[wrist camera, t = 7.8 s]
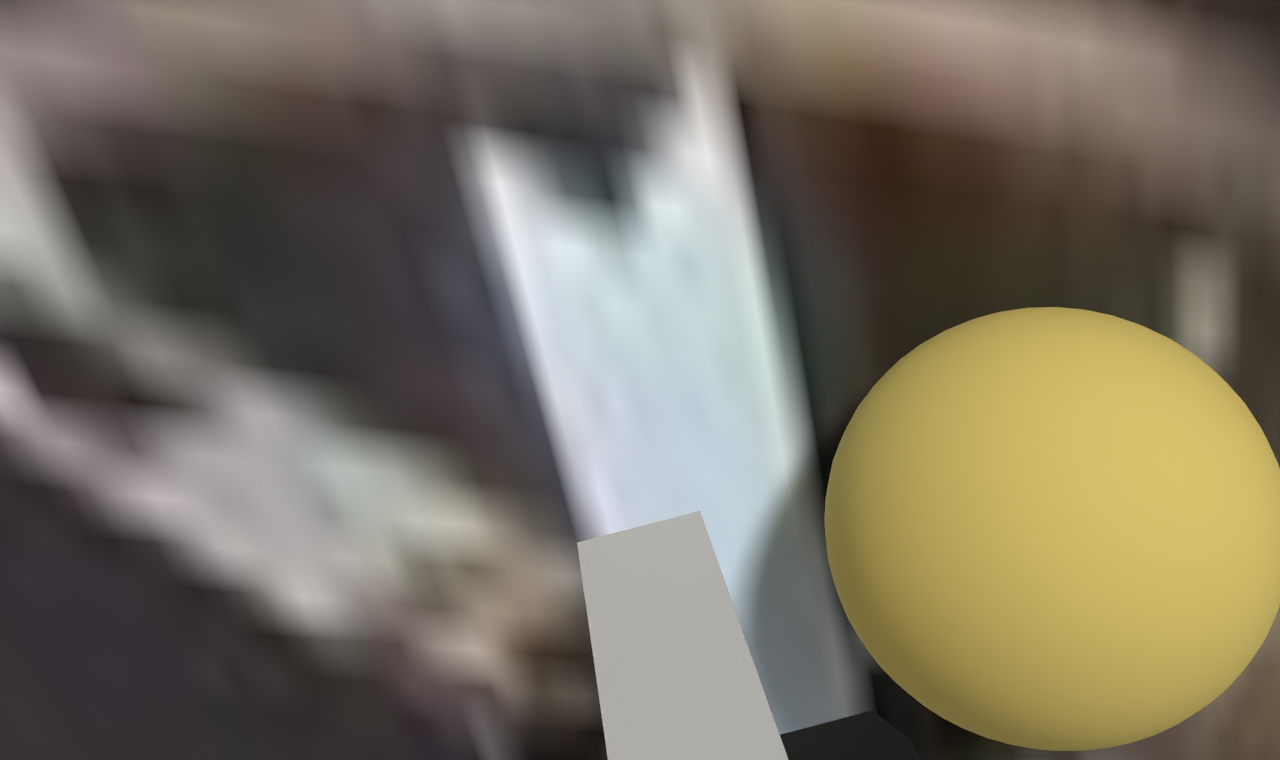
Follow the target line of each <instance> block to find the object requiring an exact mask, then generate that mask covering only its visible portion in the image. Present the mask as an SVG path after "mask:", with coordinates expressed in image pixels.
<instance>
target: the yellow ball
mask: <svg viewBox="0 0 1280 760" xmlns="http://www.w3.org/2000/svg"><path fill="white" fill-rule="evenodd" d="M824 522H825V535H826V545H827V555H828V561H829V565H830V569H831V573H832V577H833V581H834V584H835V587H836V590H837V593H838V596H839V598H840V601H841V603H842V606H843V608H844V610H845V613H846V615H847V617H848V619H849V621H850V623H851V624H852V626H853V628H854V630H855V631H856V633H857V635H858V636H859V638H860V640H861V641H862V643H863V644H864V646H865V647H866V649H867V650H868V651H869V653H870V654H871V655H872V656H873V658H874V659H875V660H876V662H877V663H878V664H879V666H880V667H881V668H882V669H883V670H884V671H885V672H886V673H887V674H888V675H889V676H890V677H891V678H892V679H893V680H894V681H895V682H896V683H897V684H898V685H899V686H900V687H901V688H903V689H904V690H905V691H906V692H907V693H909V694H910V695H911V696H912V697H914V698H915V699H916V700H917V701H918V702H920V703H921V704H922V705H923V706H925V707H926V708H928V709H930V710H931V711H933V712H934V713H936V714H937V715H939V716H940V717H942V718H944V719H945V720H947V721H949V722H951V723H953V724H955V725H957V726H959V727H961V728H963V729H965V730H968V731H970V732H973V733H976V734H978V735H981V736H983V737H986V738H989V739H993V740H996V741H1000V742H1003V743H1007V744H1011V745H1016V746H1022V747H1027V748H1033V749H1041V750H1053V751H1085V750H1094V749H1102V748H1110V747H1115V746H1119V745H1124V744H1128V743H1133V742H1136V741H1139V740H1142V739H1145V738H1148V737H1151V736H1154V735H1156V734H1158V733H1160V732H1163V731H1165V730H1167V729H1169V728H1171V727H1173V726H1175V725H1177V724H1179V723H1181V722H1182V721H1184V720H1185V719H1187V718H1188V717H1190V716H1192V715H1193V714H1195V713H1196V712H1198V711H1200V710H1201V709H1203V708H1204V707H1206V706H1207V705H1209V704H1210V703H1211V702H1212V701H1213V700H1215V699H1216V698H1217V697H1218V696H1219V695H1221V694H1222V693H1223V692H1224V691H1225V690H1227V688H1228V687H1229V686H1230V685H1231V684H1232V683H1233V682H1234V681H1235V680H1236V678H1237V677H1238V676H1239V675H1240V674H1241V673H1242V672H1243V671H1244V669H1245V668H1246V667H1247V665H1248V664H1249V663H1250V662H1251V660H1252V659H1253V657H1254V656H1255V654H1256V653H1257V651H1258V650H1259V648H1260V647H1261V645H1262V644H1263V642H1264V641H1265V639H1266V637H1267V635H1268V633H1269V630H1270V628H1271V626H1272V624H1273V621H1274V619H1275V617H1276V614H1277V612H1278V609H1279V606H1280V468H1279V465H1278V462H1277V460H1276V458H1275V456H1274V454H1273V451H1272V449H1271V447H1270V445H1269V442H1268V440H1267V438H1266V436H1265V435H1264V433H1263V431H1262V429H1261V427H1260V425H1259V424H1258V422H1257V421H1256V419H1255V418H1254V416H1253V415H1252V413H1251V412H1250V410H1249V409H1248V407H1247V406H1246V404H1245V403H1244V402H1243V401H1242V399H1241V398H1240V397H1239V396H1238V395H1237V394H1236V393H1235V392H1234V390H1233V389H1232V388H1231V387H1230V386H1229V385H1228V384H1227V383H1226V382H1225V381H1224V380H1223V379H1222V378H1221V377H1220V376H1219V375H1218V374H1217V373H1216V372H1215V371H1214V370H1213V369H1211V368H1210V367H1209V366H1208V365H1207V364H1206V363H1204V362H1203V361H1202V360H1201V359H1200V358H1198V357H1197V356H1196V355H1195V354H1193V353H1192V352H1190V351H1189V350H1187V349H1185V348H1184V347H1182V346H1181V345H1179V344H1178V343H1176V342H1174V341H1173V340H1171V339H1169V338H1167V337H1165V336H1163V335H1161V334H1159V333H1157V332H1155V331H1153V330H1150V329H1148V328H1146V327H1144V326H1142V325H1139V324H1136V323H1133V322H1130V321H1127V320H1124V319H1121V318H1118V317H1115V316H1112V315H1108V314H1103V313H1098V312H1093V311H1089V310H1084V309H1073V308H1061V307H1038V308H1023V309H1016V310H1009V311H1002V312H998V313H994V314H990V315H986V316H983V317H979V318H975V319H972V320H970V321H967V322H965V323H963V324H960V325H958V326H955V327H953V328H950V329H948V330H946V331H944V332H942V333H940V334H938V335H936V336H935V337H933V338H931V339H929V340H927V341H926V342H924V343H922V344H920V345H919V346H918V347H916V348H915V349H914V350H912V351H911V352H909V353H908V354H907V355H905V356H904V357H903V358H901V359H900V360H899V361H898V362H897V363H896V364H895V365H894V366H893V367H892V368H891V369H890V370H889V371H888V372H887V373H886V374H884V375H883V376H882V377H881V379H880V380H879V381H878V382H877V383H876V384H875V385H874V386H873V388H872V389H871V390H870V392H869V393H868V394H867V395H866V397H865V398H864V399H863V401H862V402H861V403H860V404H859V406H858V408H857V409H856V411H855V413H854V415H853V417H852V418H851V420H850V422H849V424H848V426H847V427H846V430H845V432H844V434H843V436H842V438H841V441H840V443H839V446H838V449H837V451H836V454H835V457H834V459H833V463H832V468H831V472H830V477H829V482H828V487H827V493H826V501H825V520H824Z"/></svg>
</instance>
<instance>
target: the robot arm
mask: <svg viewBox="0 0 1280 760" xmlns="http://www.w3.org/2000/svg"><path fill="white" fill-rule="evenodd" d="M577 546H578V553H579V560H580V567H581V574H582V581H583V588H584V595H585V602H586V609H587V616H588V623H589V630H590V637H591V644H592V651H593V658H594V665H595V673H596V680H597V687H598V694H599V701H600V708H601V715H602V722H603V729H604V736H605V743H606V750H607V757H608V760H921V759H920V757H919V755H918V753H917V751H916V749H915V747H914V745H913V743H912V741H911V739H909V738H908V737H907V736H905V735H904V734H903V733H901V732H900V731H899V730H897V729H896V728H895V727H893V726H892V725H891V724H889V723H888V722H887V721H885V720H884V719H883V718H881V717H880V716H879V715H877V714H876V713H875V712H873V711H869V712H865V713H861V714H857V715H854V716H850V717H846V718H842V719H838V720H835V721H831V722H827V723H823V724H819V725H816V726H812V727H808V728H804V729H801V730H797V731H793V732H789V733H785V734H782V735H780V734H779V732H778V729H777V726H776V723H775V720H774V718H773V715H772V712H771V709H770V706H769V704H768V701H767V698H766V695H765V692H764V690H763V687H762V684H761V681H760V678H759V676H758V673H757V670H756V667H755V665H754V662H753V659H752V656H751V653H750V651H749V648H748V645H747V642H746V639H745V637H744V634H743V631H742V628H741V625H740V623H739V620H738V617H737V614H736V611H735V609H734V606H733V603H732V600H731V597H730V595H729V592H728V589H727V586H726V583H725V581H724V578H723V575H722V572H721V569H720V567H719V564H718V561H717V558H716V556H715V553H714V550H713V547H712V544H711V542H710V539H709V536H708V533H707V530H706V528H705V525H704V522H703V519H702V516H701V514H700V511H698V512H694V513H691V514H687V515H683V516H679V517H675V518H671V519H667V520H663V521H660V522H656V523H652V524H648V525H644V526H640V527H636V528H632V529H629V530H625V531H621V532H617V533H613V534H609V535H605V536H601V537H598V538H594V539H590V540H586V541H582V542H578V543H577Z"/></svg>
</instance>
